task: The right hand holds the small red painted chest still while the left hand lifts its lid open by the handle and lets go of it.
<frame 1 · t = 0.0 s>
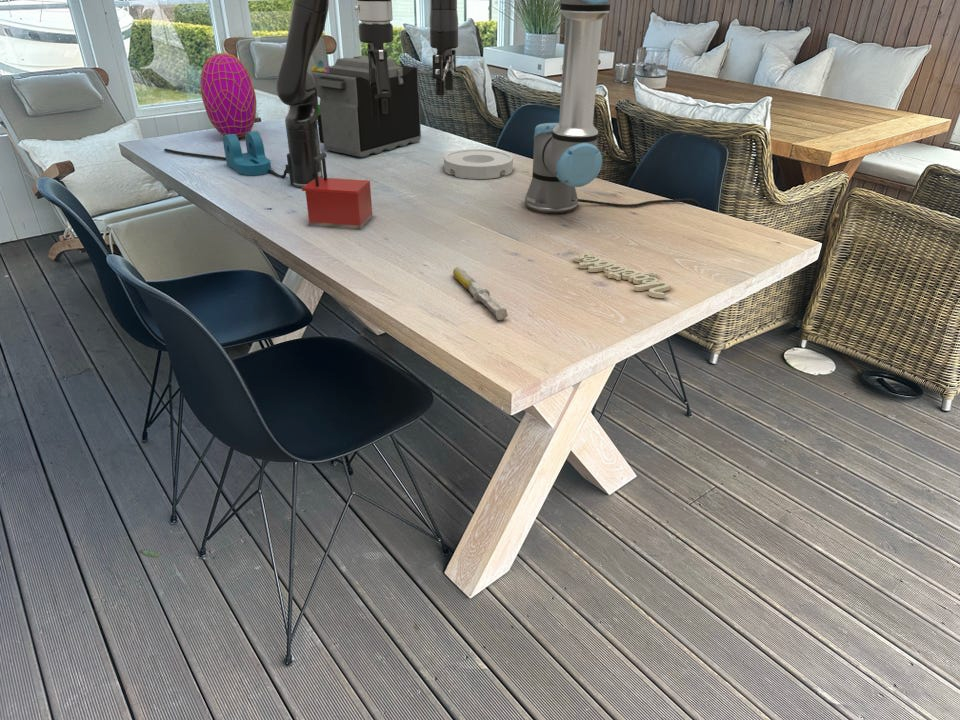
left hand: (444, 92, 191), 29 cm above the table, tool pointing down, fingers open, 8 cm apart
right hand: (381, 122, 162), 28 cm above the table, tool pointing down, fingers open, 13 cm apart
ashtray: (478, 170, 231), on the table
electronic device: (371, 146, 258), on the table
potted flower: (326, 122, 294), on the table
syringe: (478, 297, 145), on the table
decorative egg: (235, 138, 267), on the table
chest: (341, 221, 185), on the table
decorative sign: (623, 275, 156), on the table
lid: (335, 171, 178), point 13 cm above the table, hinge at 0.0°
camera mount: (251, 168, 229), on the table
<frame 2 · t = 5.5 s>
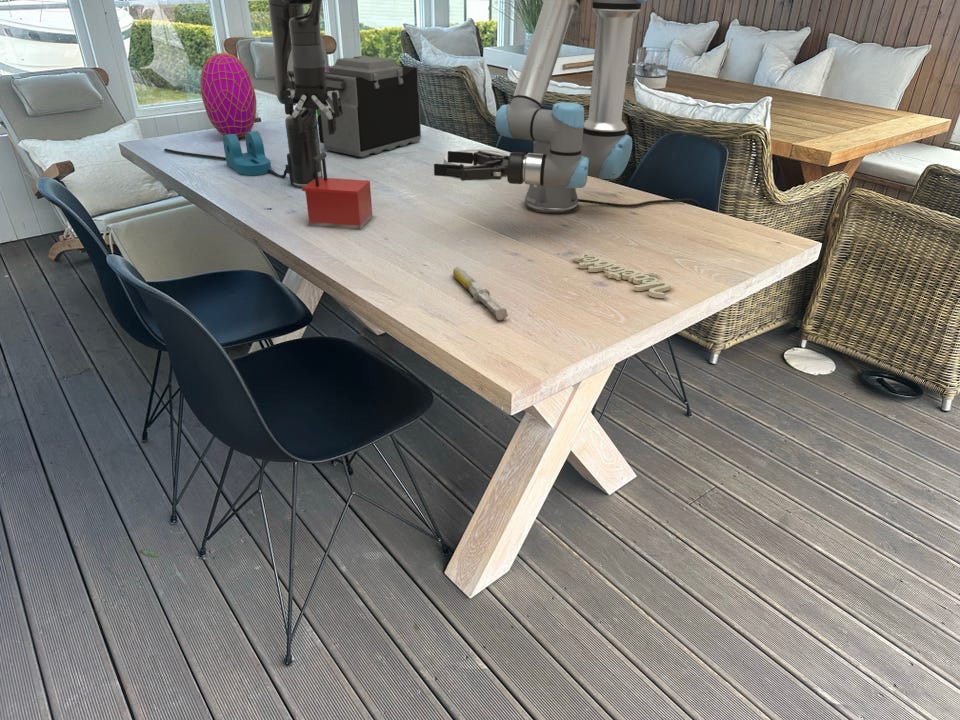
left hand: (316, 133, 174), 23 cm above the table, tool pointing down, fingers open, 8 cm apart
right hand: (441, 162, 173), 17 cm above the table, tool horizontal, fingers open, 13 cm apart
nothing on the table moved.
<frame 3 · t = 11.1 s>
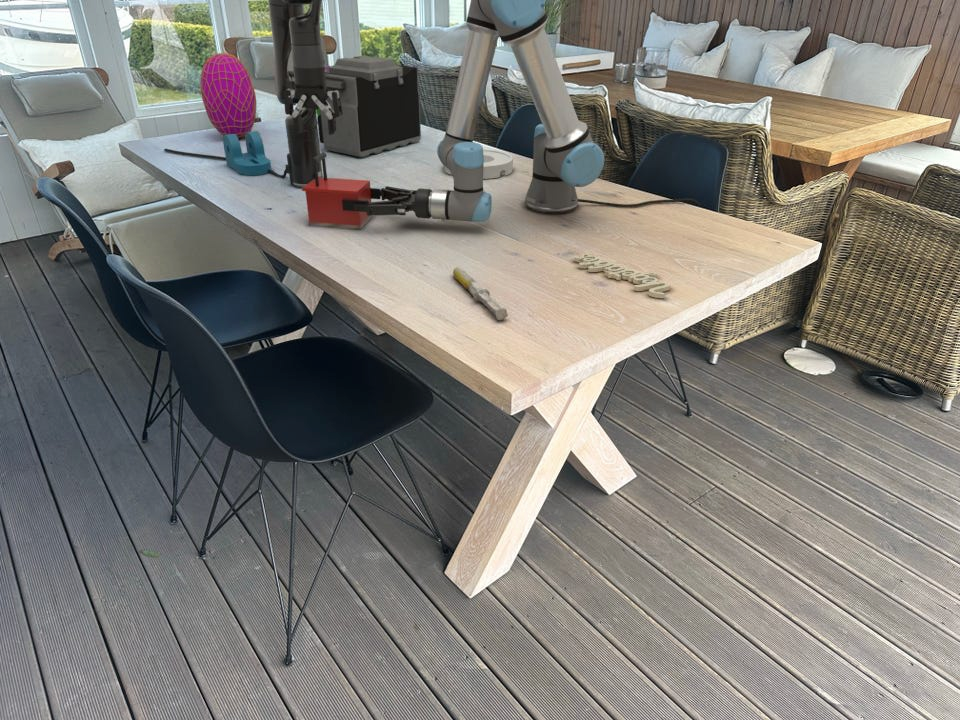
left hand: (316, 133, 174), 23 cm above the table, tool pointing down, fingers open, 8 cm apart
right hand: (350, 198, 181), 7 cm above the table, tool horizontal, fingers closed on chest, 10 cm apart
chest: (341, 221, 185), on the table, touching right hand
everything else where it was.
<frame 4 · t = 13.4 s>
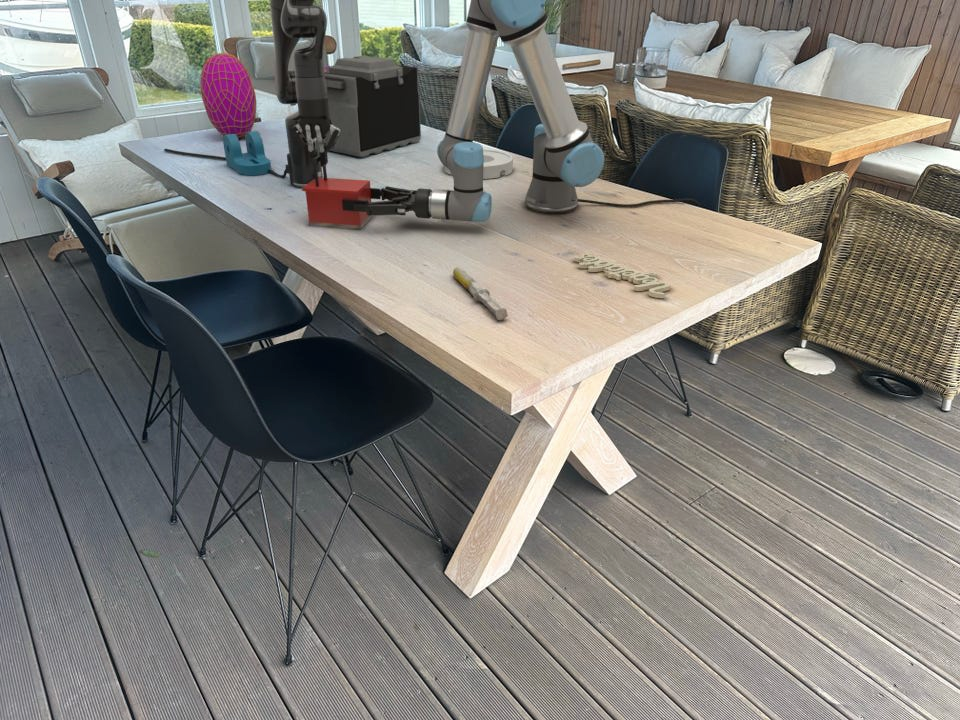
left hand: (319, 165, 178), 15 cm above the table, tool pointing down, fingers closed
right hand: (350, 198, 181), 7 cm above the table, tool horizontal, fingers closed on chest, 10 cm apart
chest: (341, 221, 185), on the table, touching right hand
lid: (335, 171, 178), point 13 cm above the table, hinge at -0.1°, touching left hand
everything else where it was.
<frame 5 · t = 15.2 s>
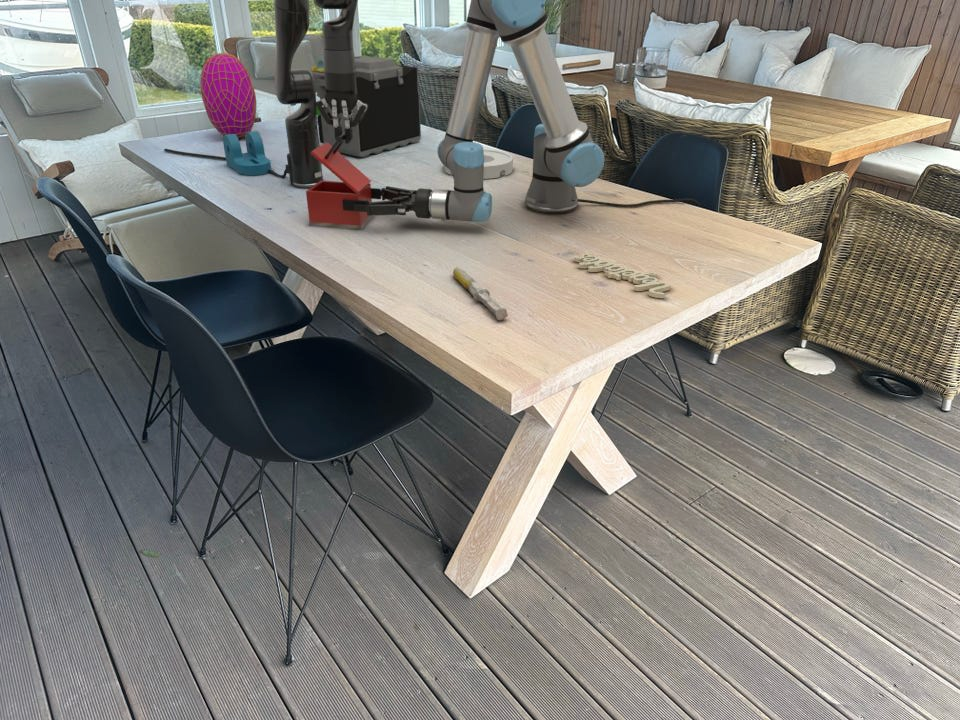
left hand: (344, 142, 174), 21 cm above the table, tool pointing down, fingers closed
right hand: (350, 198, 182), 6 cm above the table, tool horizontal, fingers closed on chest, 10 cm apart
chest: (341, 221, 185), on the table, touching right hand
lid: (349, 157, 176), point 17 cm above the table, hinge at 40.0°, touching left hand
everything else where it was.
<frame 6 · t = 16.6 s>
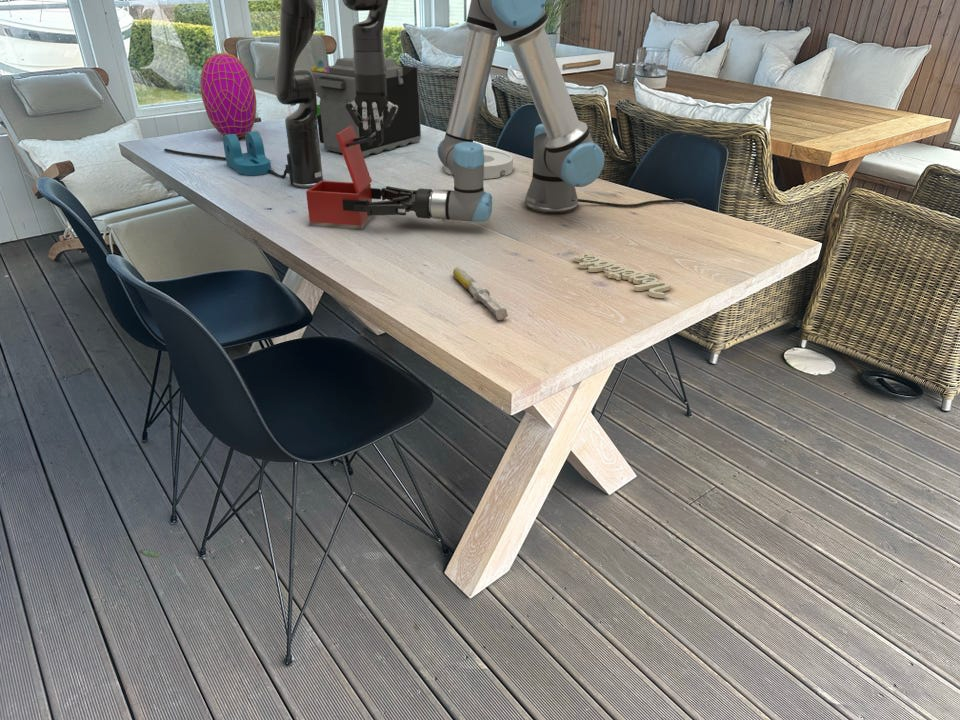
left hand: (374, 144, 173), 21 cm above the table, tool pointing down, fingers closed
right hand: (350, 198, 182), 6 cm above the table, tool horizontal, fingers closed on chest, 10 cm apart
chest: (342, 221, 185), on the table, touching right hand
lid: (367, 155, 175), point 18 cm above the table, hinge at 73.7°
everything else where it was.
when the right hand's fingers open (6 cm above the table, at t = 20.7 s): chest stays where it is, on the table.
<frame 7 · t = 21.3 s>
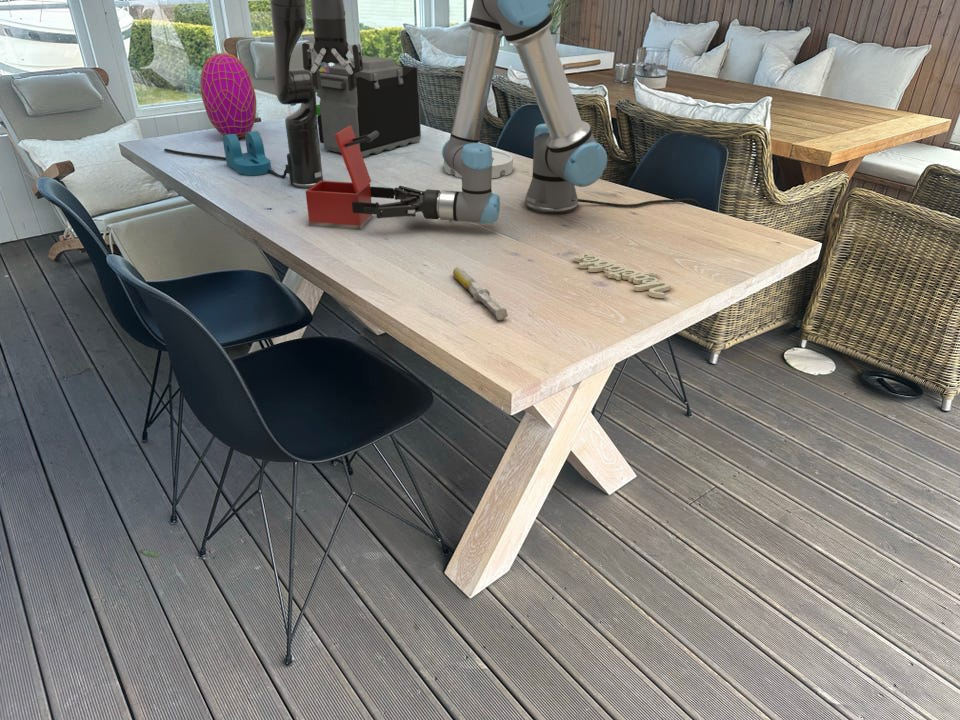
left hand: (335, 89, 168), 34 cm above the table, tool pointing down, fingers open, 8 cm apart
right hand: (361, 199, 181), 6 cm above the table, tool horizontal, fingers open, 13 cm apart
chest: (341, 221, 185), on the table
lid: (366, 155, 175), point 18 cm above the table, hinge at 72.9°
everything else where it was.
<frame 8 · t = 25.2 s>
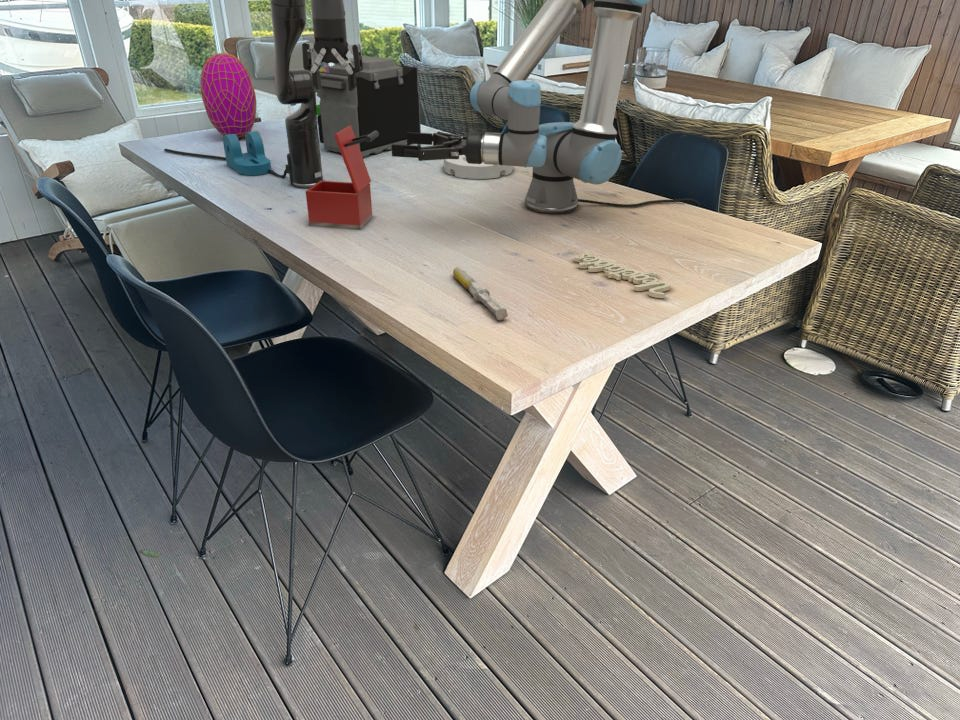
left hand: (335, 89, 168), 34 cm above the table, tool pointing down, fingers open, 8 cm apart
right hand: (399, 143, 172), 21 cm above the table, tool horizontal, fingers open, 13 cm apart
nothing on the table moved.
at the end: lid at +73° (first picture: +0°); the left hand is holding nothing; the right hand is holding nothing; chest tilted 0°; chest never tilted more than 1° during the clip; chest moved 0.1 cm from its start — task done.
